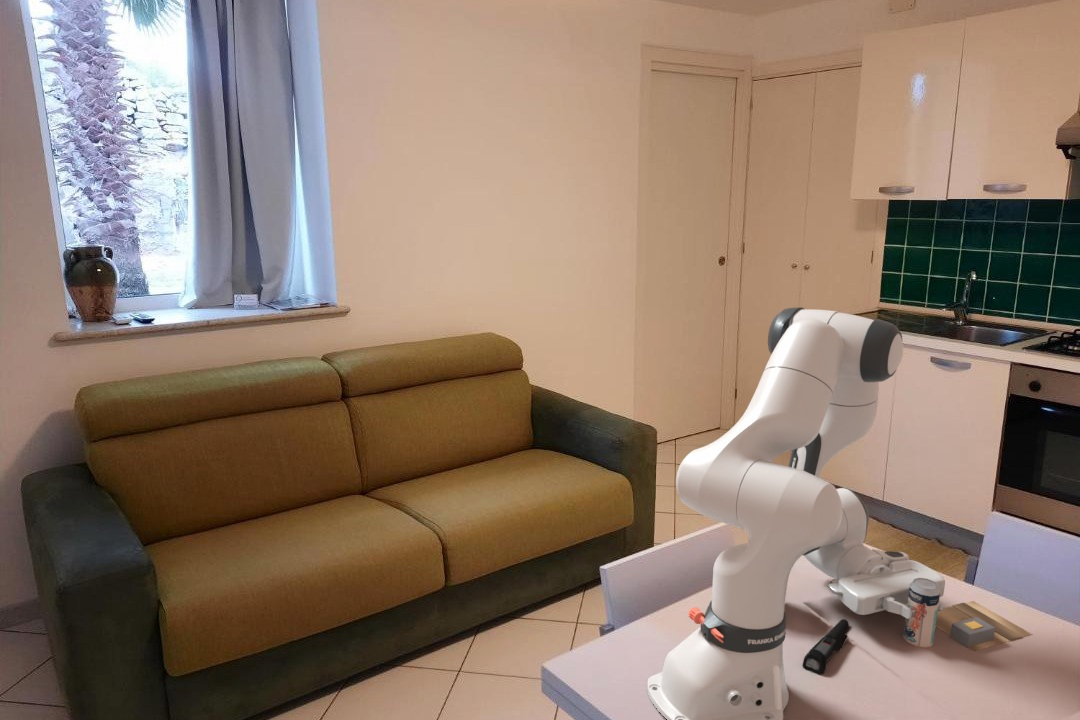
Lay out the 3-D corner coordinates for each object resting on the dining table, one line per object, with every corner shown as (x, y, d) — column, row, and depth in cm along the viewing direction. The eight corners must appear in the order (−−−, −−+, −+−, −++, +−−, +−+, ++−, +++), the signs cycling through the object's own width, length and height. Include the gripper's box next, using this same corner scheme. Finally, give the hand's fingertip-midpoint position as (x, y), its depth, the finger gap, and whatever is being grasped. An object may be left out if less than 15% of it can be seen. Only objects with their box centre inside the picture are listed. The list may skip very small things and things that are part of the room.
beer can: (898, 637, 135) (905, 576, 133) (925, 637, 135) (933, 576, 133) (909, 653, 131) (917, 590, 128) (937, 653, 131) (946, 591, 128)
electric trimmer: (854, 638, 137) (856, 622, 136) (822, 677, 125) (823, 660, 124) (833, 630, 139) (835, 614, 138) (800, 668, 128) (801, 651, 127)
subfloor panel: (972, 658, 130) (974, 649, 129) (916, 622, 141) (917, 614, 140) (1031, 641, 134) (1032, 633, 134) (972, 608, 145) (973, 600, 145)
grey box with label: (968, 647, 130) (969, 633, 130) (950, 635, 134) (952, 622, 133) (993, 639, 132) (995, 626, 132) (975, 629, 136) (977, 616, 135)
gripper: (824, 567, 139) (881, 605, 126) (909, 550, 146) (971, 584, 133) (821, 598, 140) (877, 639, 128) (905, 579, 147) (967, 616, 135)
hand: (926, 611), depth 131 cm, fingers closed on beer can, 5 cm apart
